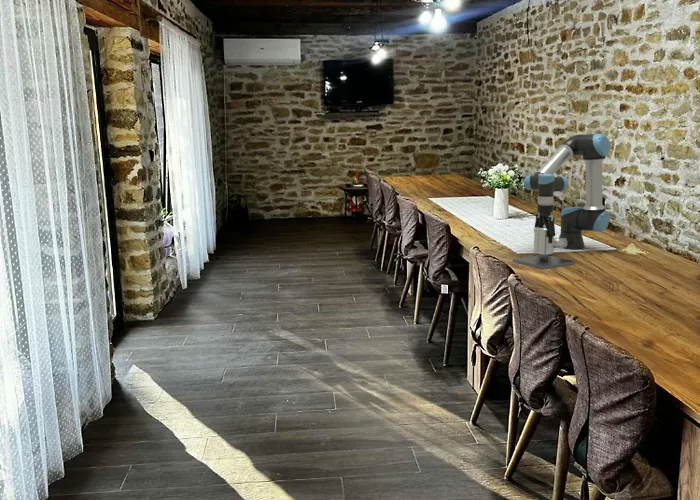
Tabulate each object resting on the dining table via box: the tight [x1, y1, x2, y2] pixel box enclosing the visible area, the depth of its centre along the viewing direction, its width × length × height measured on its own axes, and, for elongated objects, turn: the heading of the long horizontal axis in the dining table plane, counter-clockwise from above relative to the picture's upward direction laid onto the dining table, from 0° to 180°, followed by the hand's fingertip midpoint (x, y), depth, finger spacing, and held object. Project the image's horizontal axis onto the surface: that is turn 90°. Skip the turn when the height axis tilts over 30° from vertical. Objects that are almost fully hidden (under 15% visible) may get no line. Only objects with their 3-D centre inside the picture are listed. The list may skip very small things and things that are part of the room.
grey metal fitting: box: [533, 226, 567, 255], centre depth 314 cm, size 17×10×13 cm, turn 103°
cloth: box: [618, 243, 649, 256], centre depth 343 cm, size 22×19×6 cm
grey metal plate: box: [512, 254, 576, 270], centre depth 315 cm, size 22×22×10 cm
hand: (543, 247), depth 314 cm, fingers closed on grey metal fitting, 9 cm apart
